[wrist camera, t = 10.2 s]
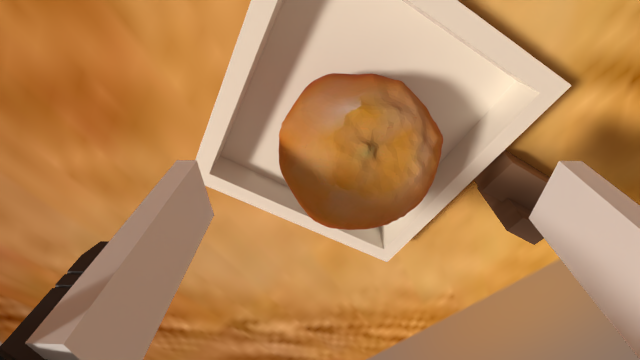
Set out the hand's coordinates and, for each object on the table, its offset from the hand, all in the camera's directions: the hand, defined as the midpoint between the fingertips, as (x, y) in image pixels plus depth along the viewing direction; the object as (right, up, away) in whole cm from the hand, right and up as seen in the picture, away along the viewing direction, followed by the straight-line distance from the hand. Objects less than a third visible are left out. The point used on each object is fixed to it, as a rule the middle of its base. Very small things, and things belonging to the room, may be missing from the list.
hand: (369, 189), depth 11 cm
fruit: (0, +4, +7) cm, 8 cm away
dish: (0, +4, +7) cm, 9 cm away
